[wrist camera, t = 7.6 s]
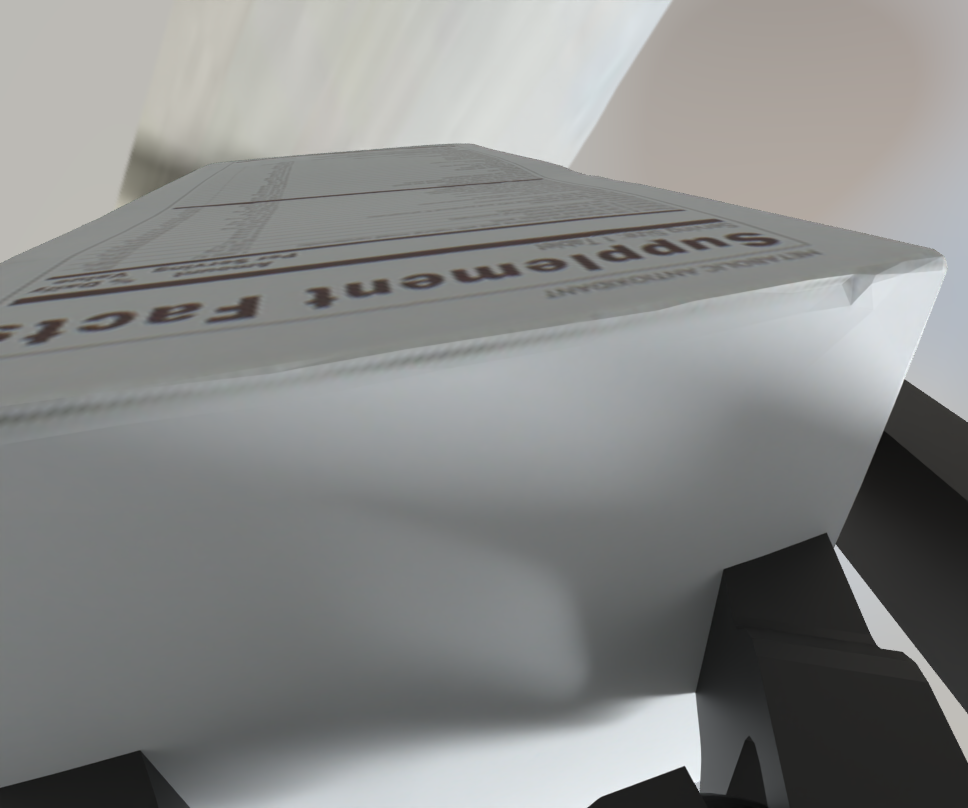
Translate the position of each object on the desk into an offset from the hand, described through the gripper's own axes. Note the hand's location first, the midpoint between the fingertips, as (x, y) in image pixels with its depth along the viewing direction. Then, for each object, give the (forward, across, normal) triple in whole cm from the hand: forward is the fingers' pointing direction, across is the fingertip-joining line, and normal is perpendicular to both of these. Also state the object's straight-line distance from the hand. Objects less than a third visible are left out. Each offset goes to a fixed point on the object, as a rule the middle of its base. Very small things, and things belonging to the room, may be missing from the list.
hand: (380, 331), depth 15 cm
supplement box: (+5, 0, 0) cm, 5 cm away
